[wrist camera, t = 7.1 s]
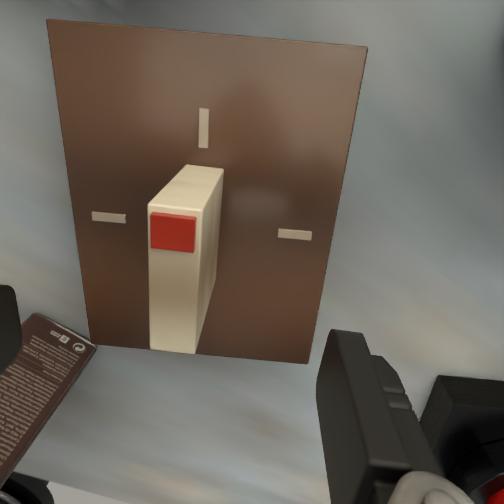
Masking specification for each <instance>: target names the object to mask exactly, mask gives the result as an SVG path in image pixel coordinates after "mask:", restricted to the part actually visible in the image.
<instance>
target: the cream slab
mask: <svg viewBox="0 0 504 504" xmlns="http://www.w3.org/2000/svg"><path fill="white" fill-rule="evenodd" d="M223 176H224V169H222V168H213V167H205V166H196V165H188V164H187V165H185V166H184V167H183V168H182V169H181V170H180V172H179V173H178V174H177V175H176V176H175V177H174V178H173V179H172V180H171V181H170V182H169V183H168V184H167V185H166V186H165V187H164V188H163V189H162V190H161V191H160V192H159V193H158V194H157V195H156V196H155V197H154V198H153V199H152V200H151V201H150V202H149V203H148V266H149V329H150V349H152V350H161V351H169V352H178V353H187V354H195V352H196V349H197V345H198V342H199V338H200V334H201V331H202V327H203V323H204V320H205V316H206V312H207V309H208V305H209V301H210V298H211V294H212V290H213V287H214V283H215V280H216V269H217V255H218V242H219V229H220V215H221V202H222V189H223Z"/></svg>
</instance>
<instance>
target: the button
mask: <svg viewBox="0 0 504 504" xmlns="http://www.w3.org/2000/svg"><path fill="white" fill-rule="evenodd" d="M486 504H504V489H502V490H501V491H499V492H497V493H496V494H494V495H492V496H490V498H489V499H488V501H487V503H486Z"/></svg>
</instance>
